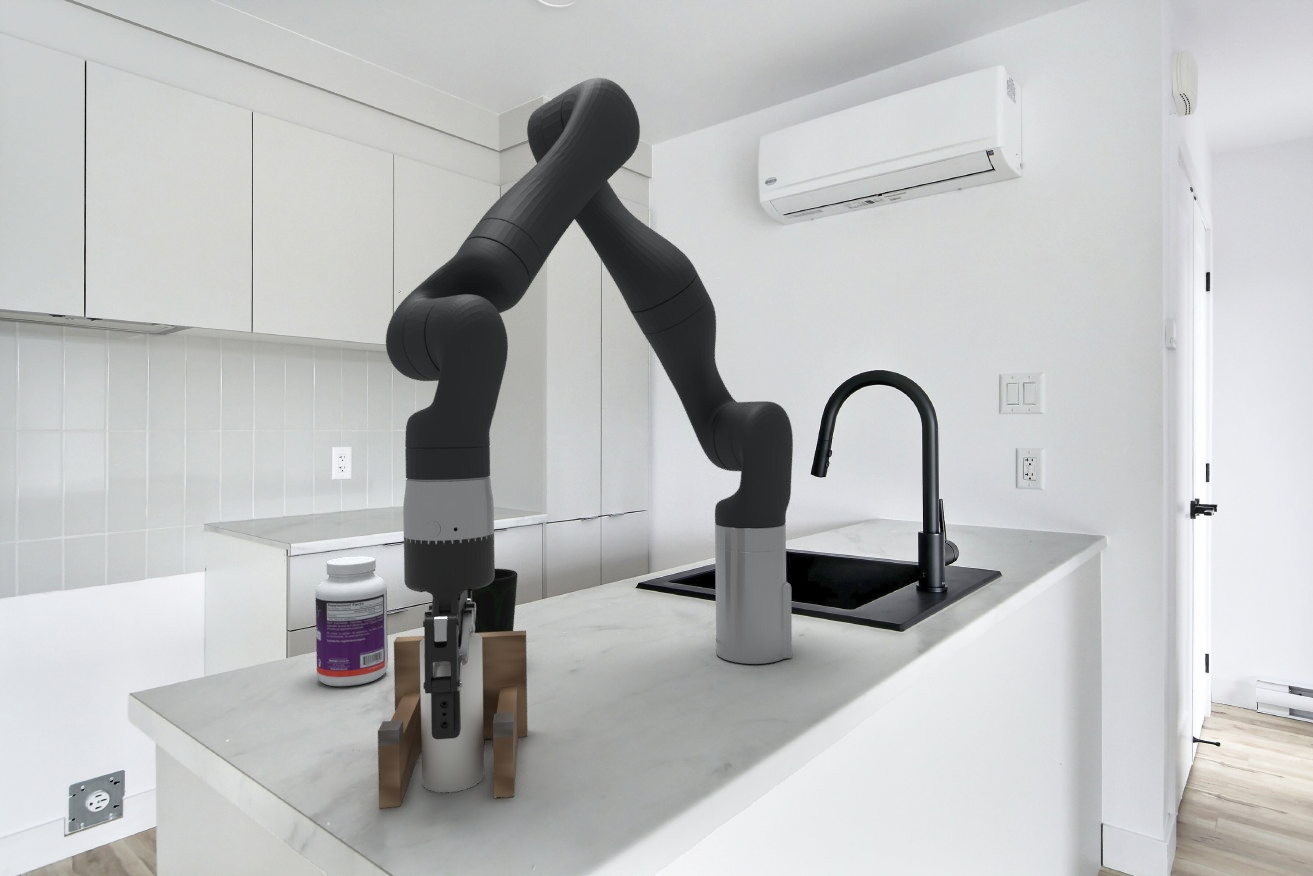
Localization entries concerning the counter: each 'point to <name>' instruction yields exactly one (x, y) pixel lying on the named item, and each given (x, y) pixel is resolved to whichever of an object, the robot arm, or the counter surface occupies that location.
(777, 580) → the robot arm
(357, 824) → the counter surface
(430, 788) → the roll
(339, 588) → the pill bottle
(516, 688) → the holder
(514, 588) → the cup
